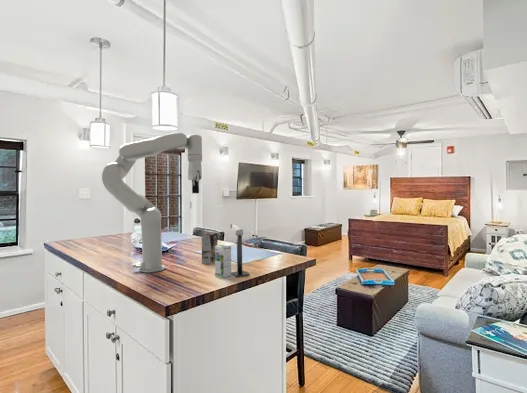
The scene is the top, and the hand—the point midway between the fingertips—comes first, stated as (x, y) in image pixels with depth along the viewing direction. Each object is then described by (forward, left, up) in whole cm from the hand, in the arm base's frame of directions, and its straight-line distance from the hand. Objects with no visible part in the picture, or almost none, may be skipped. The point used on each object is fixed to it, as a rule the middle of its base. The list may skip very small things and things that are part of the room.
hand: (195, 193), depth 168 cm
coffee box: (+9, +5, -39) cm, 41 cm away
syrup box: (+6, -24, -39) cm, 47 cm away
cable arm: (+16, -16, -20) cm, 30 cm away
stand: (+13, -27, -39) cm, 49 cm away
